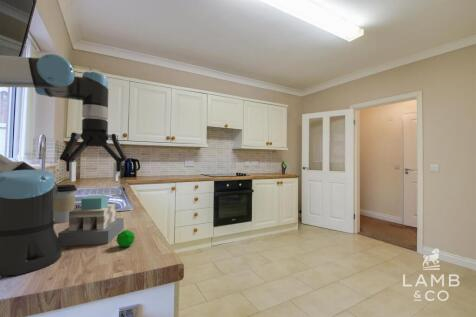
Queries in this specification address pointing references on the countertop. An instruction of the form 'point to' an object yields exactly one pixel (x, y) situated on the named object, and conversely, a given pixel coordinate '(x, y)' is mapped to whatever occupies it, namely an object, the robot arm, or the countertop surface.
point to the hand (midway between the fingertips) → (94, 181)
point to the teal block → (94, 202)
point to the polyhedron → (125, 238)
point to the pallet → (92, 218)
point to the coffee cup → (64, 202)
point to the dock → (91, 234)
